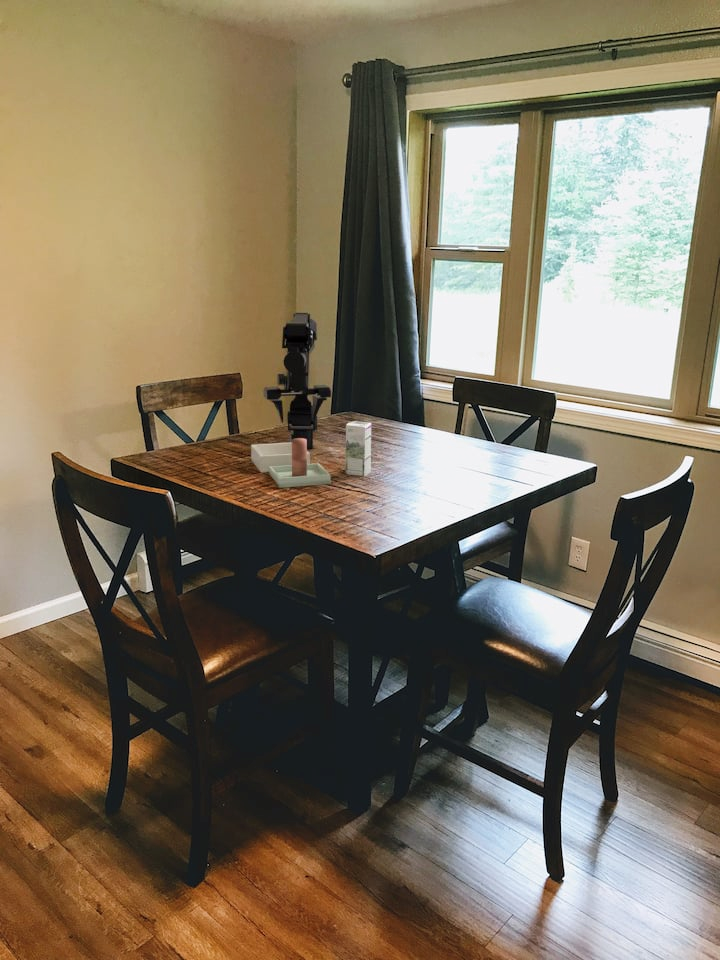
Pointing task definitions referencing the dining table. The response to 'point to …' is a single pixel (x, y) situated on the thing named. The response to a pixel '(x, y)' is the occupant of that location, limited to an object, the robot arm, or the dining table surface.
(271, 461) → the square storage bin
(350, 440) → the syrup box
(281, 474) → the tray
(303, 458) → the dowel pin
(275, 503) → the dining table surface
